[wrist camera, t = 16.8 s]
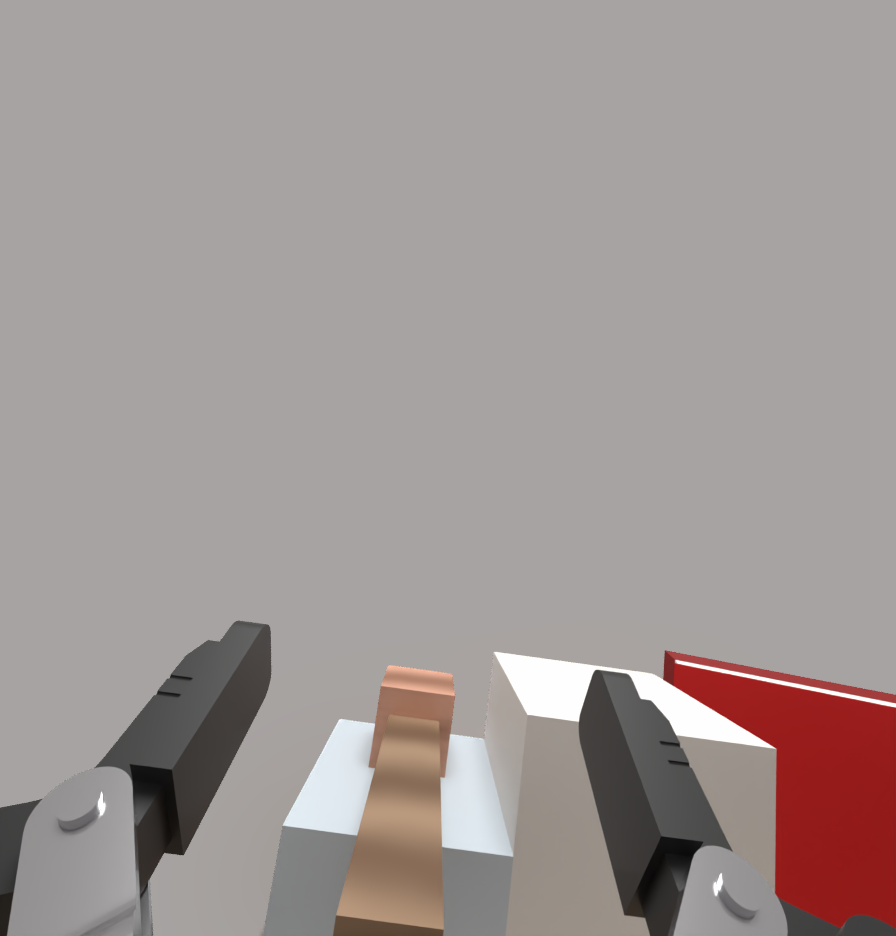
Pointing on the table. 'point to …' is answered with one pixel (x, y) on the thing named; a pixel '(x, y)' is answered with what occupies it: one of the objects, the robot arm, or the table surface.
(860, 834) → the book
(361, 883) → the handled cube
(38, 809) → the robot arm
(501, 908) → the riser
